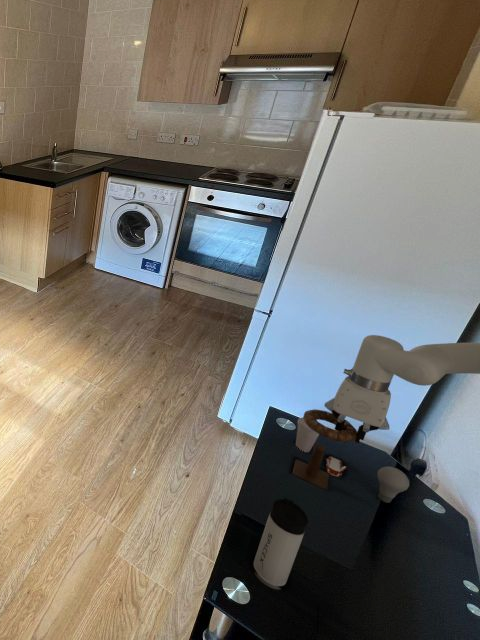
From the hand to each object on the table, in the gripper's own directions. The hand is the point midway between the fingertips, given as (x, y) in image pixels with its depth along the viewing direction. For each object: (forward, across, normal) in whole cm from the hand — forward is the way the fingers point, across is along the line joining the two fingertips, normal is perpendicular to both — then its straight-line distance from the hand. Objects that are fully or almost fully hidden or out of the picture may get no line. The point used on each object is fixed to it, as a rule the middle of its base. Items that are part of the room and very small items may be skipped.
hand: (347, 435), depth 113 cm
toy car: (+18, +1, +9) cm, 20 cm away
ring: (-1, -4, 0) cm, 4 cm away
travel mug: (+18, -8, -44) cm, 48 cm away
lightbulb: (+18, +12, +4) cm, 22 cm away
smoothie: (+18, -7, +13) cm, 24 cm away
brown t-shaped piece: (+18, -4, 0) cm, 18 cm away
